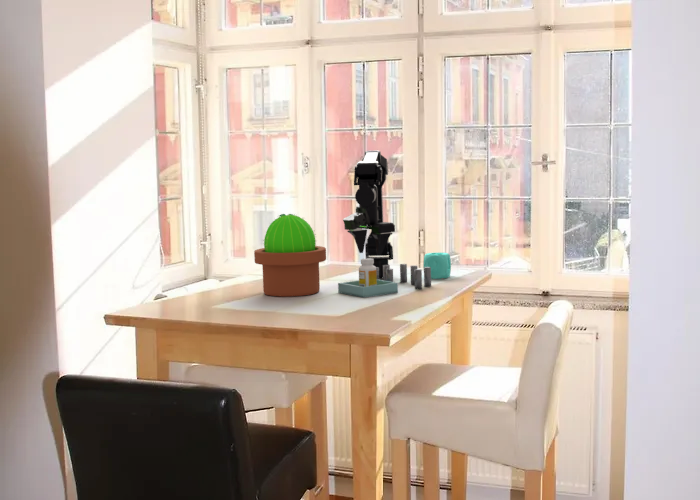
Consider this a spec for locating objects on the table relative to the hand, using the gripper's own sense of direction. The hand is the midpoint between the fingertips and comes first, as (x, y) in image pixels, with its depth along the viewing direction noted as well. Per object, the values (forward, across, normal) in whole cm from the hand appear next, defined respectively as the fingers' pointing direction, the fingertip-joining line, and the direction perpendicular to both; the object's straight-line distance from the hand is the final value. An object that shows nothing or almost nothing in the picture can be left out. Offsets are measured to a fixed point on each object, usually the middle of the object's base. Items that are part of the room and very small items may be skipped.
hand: (370, 254), depth 273 cm
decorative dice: (+12, -8, +34) cm, 37 cm away
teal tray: (+12, +2, -2) cm, 12 cm away
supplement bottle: (+11, +2, -2) cm, 11 cm away
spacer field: (+12, -1, +13) cm, 18 cm away
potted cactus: (+12, -16, -19) cm, 27 cm away
